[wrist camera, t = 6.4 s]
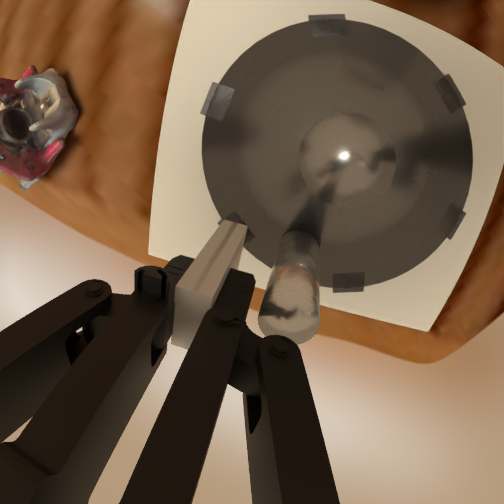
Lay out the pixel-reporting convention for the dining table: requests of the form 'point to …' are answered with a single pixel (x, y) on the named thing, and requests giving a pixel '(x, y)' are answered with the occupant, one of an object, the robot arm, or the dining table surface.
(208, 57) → the base board
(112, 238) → the dining table surface
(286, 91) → the notched disc with hub
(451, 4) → the dining table surface
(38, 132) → the grey maroon spiky lump
